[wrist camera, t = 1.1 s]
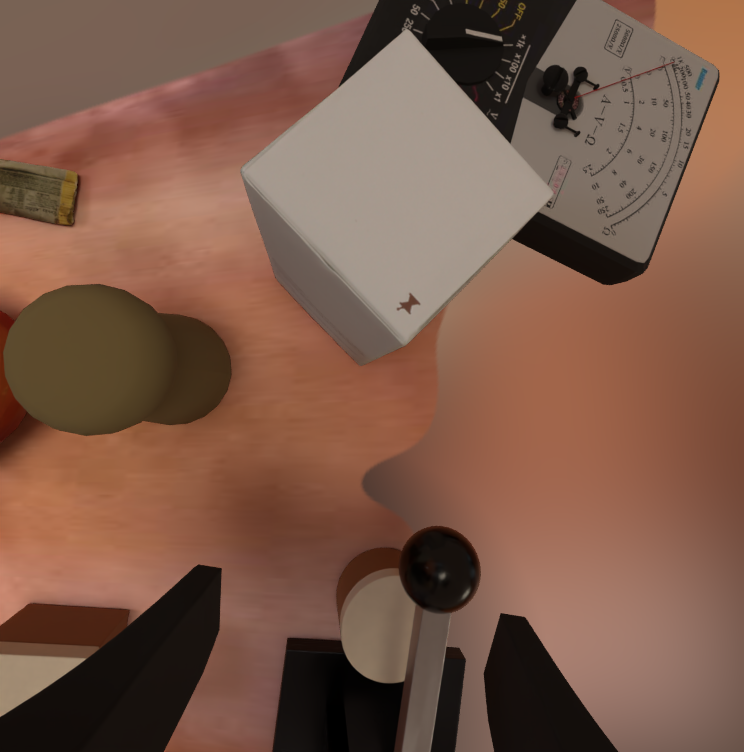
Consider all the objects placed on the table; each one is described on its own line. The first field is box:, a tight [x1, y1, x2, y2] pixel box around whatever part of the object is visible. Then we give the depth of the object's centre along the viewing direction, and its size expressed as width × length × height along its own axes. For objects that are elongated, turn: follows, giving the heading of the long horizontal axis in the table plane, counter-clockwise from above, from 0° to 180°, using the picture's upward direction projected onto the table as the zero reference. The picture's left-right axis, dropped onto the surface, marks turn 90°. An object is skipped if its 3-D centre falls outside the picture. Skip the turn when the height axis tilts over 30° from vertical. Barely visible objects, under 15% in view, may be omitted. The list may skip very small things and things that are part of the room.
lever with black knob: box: [394, 526, 481, 752], centre depth 17 cm, size 16×3×3 cm, turn 172°
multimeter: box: [338, 0, 719, 285], centre depth 25 cm, size 13×19×5 cm
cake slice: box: [0, 604, 129, 717], centre depth 22 cm, size 4×5×4 cm
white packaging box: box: [240, 29, 554, 366], centre depth 20 cm, size 7×7×13 cm
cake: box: [336, 548, 416, 683], centre depth 24 cm, size 5×5×4 cm
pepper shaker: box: [3, 284, 231, 436], centre depth 20 cm, size 6×6×11 cm
